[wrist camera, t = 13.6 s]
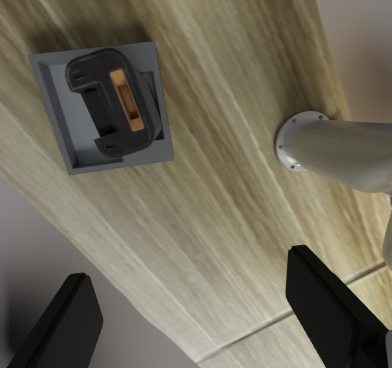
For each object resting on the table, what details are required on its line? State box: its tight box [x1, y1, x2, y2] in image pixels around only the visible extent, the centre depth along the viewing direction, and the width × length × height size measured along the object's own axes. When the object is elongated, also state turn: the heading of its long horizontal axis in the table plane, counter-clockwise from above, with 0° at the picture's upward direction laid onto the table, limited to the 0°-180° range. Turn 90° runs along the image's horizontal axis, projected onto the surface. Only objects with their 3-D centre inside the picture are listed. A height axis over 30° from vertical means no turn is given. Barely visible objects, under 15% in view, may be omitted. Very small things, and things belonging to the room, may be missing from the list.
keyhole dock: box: [28, 41, 174, 175], centre depth 37 cm, size 19×19×4 cm
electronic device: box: [65, 48, 162, 158], centre depth 29 cm, size 9×6×20 cm, turn 17°
